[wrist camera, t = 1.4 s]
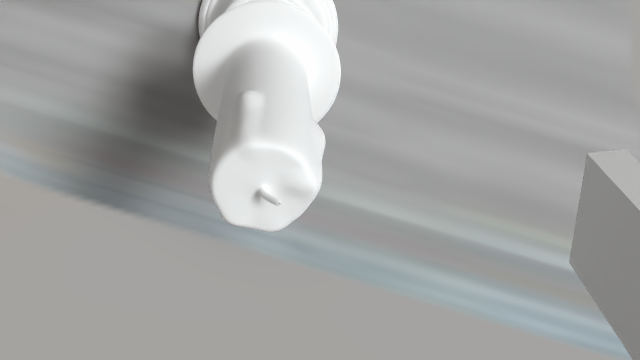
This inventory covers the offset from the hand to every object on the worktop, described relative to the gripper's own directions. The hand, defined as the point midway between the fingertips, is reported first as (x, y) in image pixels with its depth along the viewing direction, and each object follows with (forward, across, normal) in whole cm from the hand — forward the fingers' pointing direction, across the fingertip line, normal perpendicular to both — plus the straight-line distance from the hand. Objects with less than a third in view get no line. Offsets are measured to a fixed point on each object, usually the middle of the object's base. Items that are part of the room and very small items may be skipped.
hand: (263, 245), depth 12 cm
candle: (+13, 0, 0) cm, 13 cm away
